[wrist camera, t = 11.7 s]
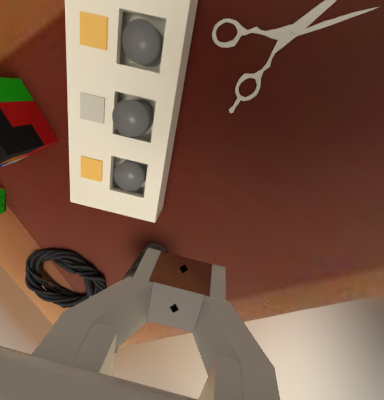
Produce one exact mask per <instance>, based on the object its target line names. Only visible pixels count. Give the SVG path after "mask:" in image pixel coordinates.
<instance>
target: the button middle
mask: <svg viewBox="0 0 384 400" xmlns="http://www.w3.org/2000/svg"><path fill="white" fill-rule="evenodd" d="M112 120H113V123H114V126H115V127H116V129H117V130H118V131H119V132H120V133H121V134H123V135H125V136H127V137H135V136H138V135H140V134H142V133H144V132H146V131H148V130H149V129H150V128H151V126H152V125H153V120H154V114H153V111H152V109H151V107H150V106H149V105H148V104H147V103H146V102H145V101H143V100H139V99H133V100H123V101H121V102H119V103H118V104H117V105H116V106H115V107H114V109H113V113H112Z"/></svg>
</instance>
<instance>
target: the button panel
mask: <svg viewBox="0 0 384 400" xmlns="http://www.w3.org/2000/svg"><path fill="white" fill-rule="evenodd" d="M197 3H198V0H65V19H66V56H67V92H68V129H69V165H70V202H73V203H77V204H81V205H86V206H90V207H94V208H98V209H102V210H106V211H110V212H114V213H118V214H122V215H126V216H130V217H134V218H138V219H142V220H146V221H150V222H154V223H155V222H156V220H157V218H158V216H159V214H160V213H161V211H162V209H163V203H164V197H165V192H166V186H167V180H168V174H169V168H170V162H171V156H172V150H173V145H174V139H175V133H176V127H177V121H178V115H179V109H180V103H181V97H182V92H183V86H184V80H185V74H186V68H187V62H188V56H189V50H190V45H191V39H192V33H193V27H194V21H195V15H196V9H197ZM135 19H144V20H146V21H148V22H150V23H151V24H152V25H153V26H154V27H155V28H156V29H157V30H158V31H159V32H160V33H161V34H162V36H163V38H164V41H163V49H162V57H161V62H160V63H159V64H158V65H156V66H154V67H147V66H144V65H141V64H138V63H135V62H133V61H132V60H131V59H129V57H128V56H127V55H126V53H125V51H124V49H123V45H122V35H123V31H124V29H125V27H126V25H127V24H128V23H129V22H131V21H132V20H135ZM133 99H139V100H143V101H145V102H146V103H147V104H148V105H149V106H150V107H151V109H152V111H153V114H154V120H153V125H152V126H151V128H150V129H149V130H148V131H146V132H144V133H142V134H140V135H138V136H135V137H127V136H125V135H123V134H121V133H120V132H119V131H118V130H117V129H116V127H115V126H114V123H113V120H112V113H113V109H114V107H115V106H116V105H117V104H118V103H119V102H121V101H123V100H133ZM125 160H131V161H136V162H140V163H144V164H148V168H147V175H146V181H145V182H144V183H143V184H142V185H141V186H140V188H138V189H137V190H135V191H126V190H124V189H122V188H120V187H119V186H118V185H117V183H116V182H115V179H114V171H115V168H116V167H117V166H118V165H119V164H121V163H122V162H124V161H125Z"/></svg>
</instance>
